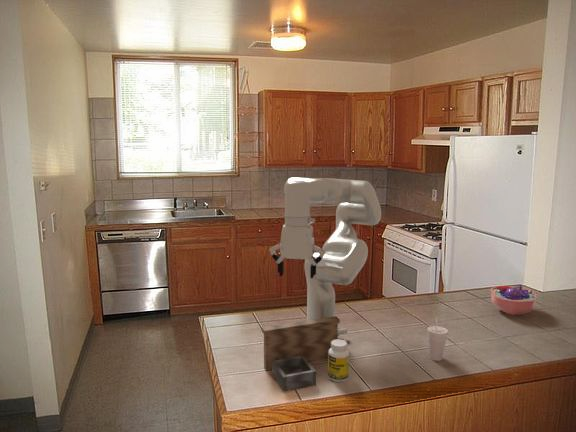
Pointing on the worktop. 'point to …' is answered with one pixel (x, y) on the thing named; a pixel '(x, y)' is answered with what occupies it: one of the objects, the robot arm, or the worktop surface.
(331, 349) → the pill bottle
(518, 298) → the cell model
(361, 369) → the worktop surface
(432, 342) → the smoothie
